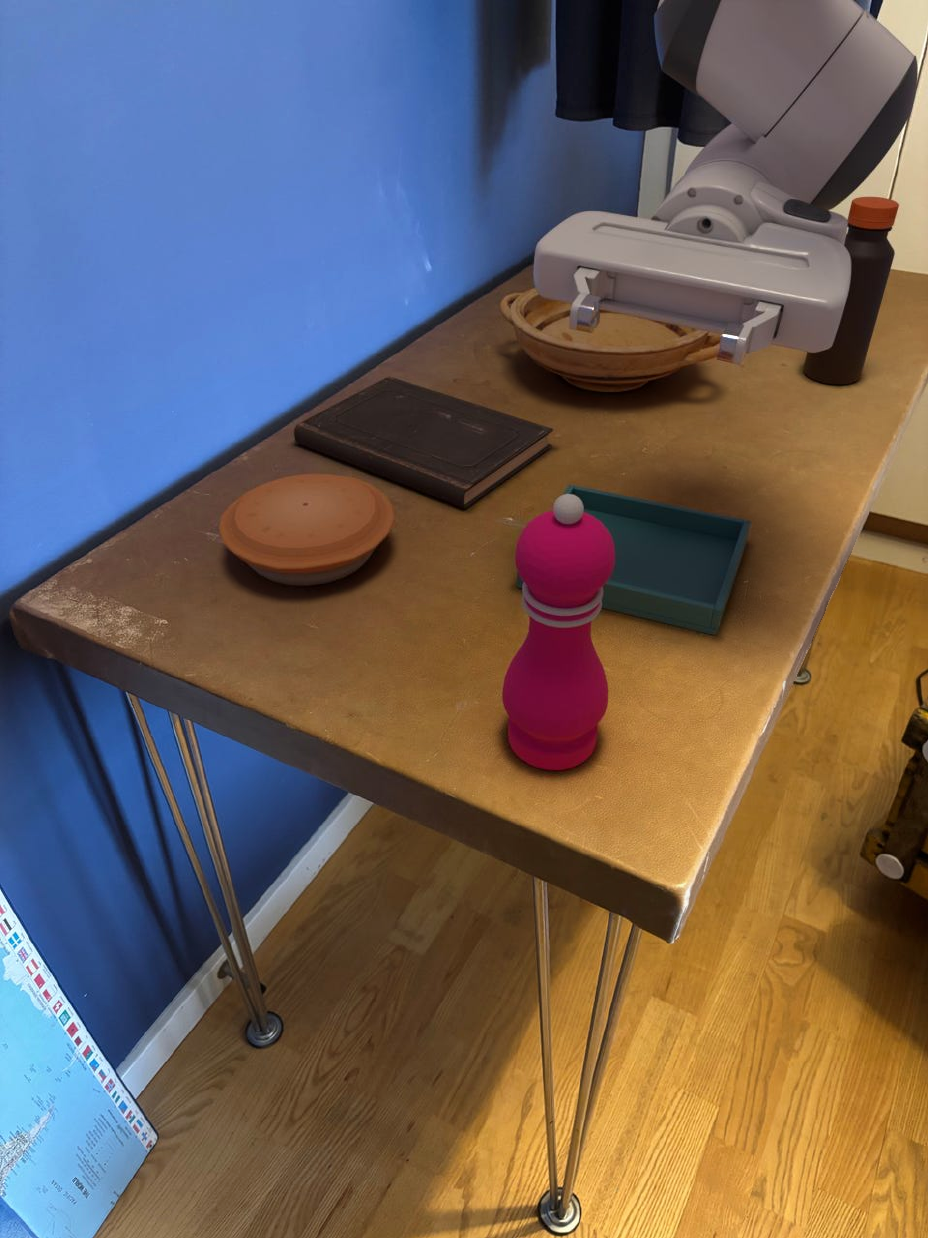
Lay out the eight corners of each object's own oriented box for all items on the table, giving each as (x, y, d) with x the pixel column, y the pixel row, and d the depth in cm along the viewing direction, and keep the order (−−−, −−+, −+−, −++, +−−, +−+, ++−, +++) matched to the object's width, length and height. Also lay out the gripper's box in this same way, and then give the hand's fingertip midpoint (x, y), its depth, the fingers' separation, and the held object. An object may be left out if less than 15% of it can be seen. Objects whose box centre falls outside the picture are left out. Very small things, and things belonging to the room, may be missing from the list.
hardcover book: (389, 393, 109) (388, 375, 108) (551, 447, 99) (552, 428, 97) (294, 445, 99) (292, 426, 98) (463, 511, 89) (462, 491, 87)
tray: (745, 544, 84) (751, 520, 82) (716, 635, 74) (721, 610, 72) (567, 507, 89) (569, 484, 87) (516, 587, 79) (517, 563, 77)
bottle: (801, 381, 111) (842, 207, 99) (804, 360, 116) (843, 191, 103) (860, 389, 109) (909, 212, 97) (860, 366, 114) (907, 196, 102)
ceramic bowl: (753, 364, 115) (765, 301, 110) (679, 441, 99) (690, 372, 94) (547, 319, 128) (550, 260, 123) (453, 381, 112) (451, 317, 107)
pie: (191, 553, 83) (180, 506, 80) (323, 489, 92) (318, 445, 89) (296, 626, 75) (288, 576, 72) (430, 548, 84) (428, 501, 81)
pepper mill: (494, 769, 63) (497, 524, 50) (508, 697, 68) (515, 460, 56) (599, 783, 62) (630, 536, 49) (605, 709, 67) (634, 470, 55)
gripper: (574, 172, 65) (497, 255, 56) (874, 220, 59) (837, 321, 50) (568, 258, 69) (496, 347, 61) (845, 311, 63) (808, 417, 55)
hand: (653, 336), depth 56 cm, fingers open, 8 cm apart
